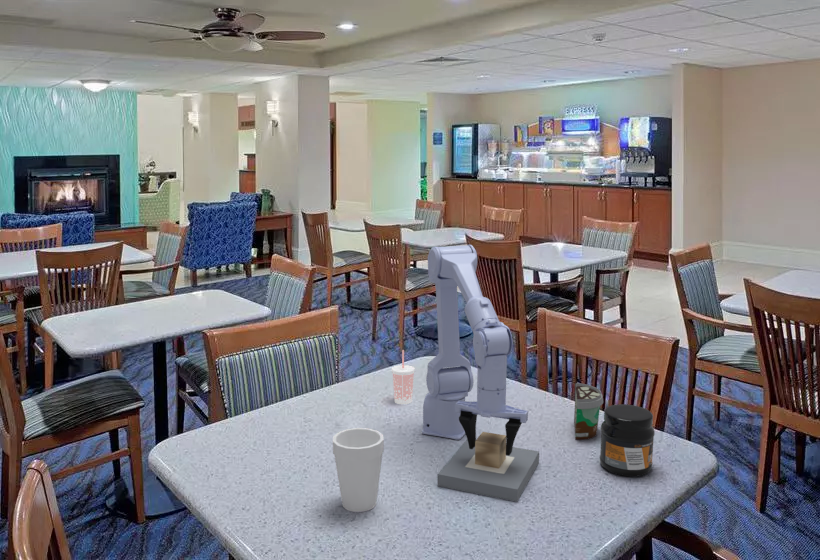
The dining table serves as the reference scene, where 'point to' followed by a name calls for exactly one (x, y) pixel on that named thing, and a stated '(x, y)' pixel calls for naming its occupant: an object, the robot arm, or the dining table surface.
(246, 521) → the dining table surface
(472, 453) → the plinth
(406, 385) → the beverage cup
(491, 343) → the robot arm
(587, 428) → the food container
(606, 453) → the supplement container
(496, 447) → the oak cube
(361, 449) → the foam cup
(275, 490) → the dining table surface
